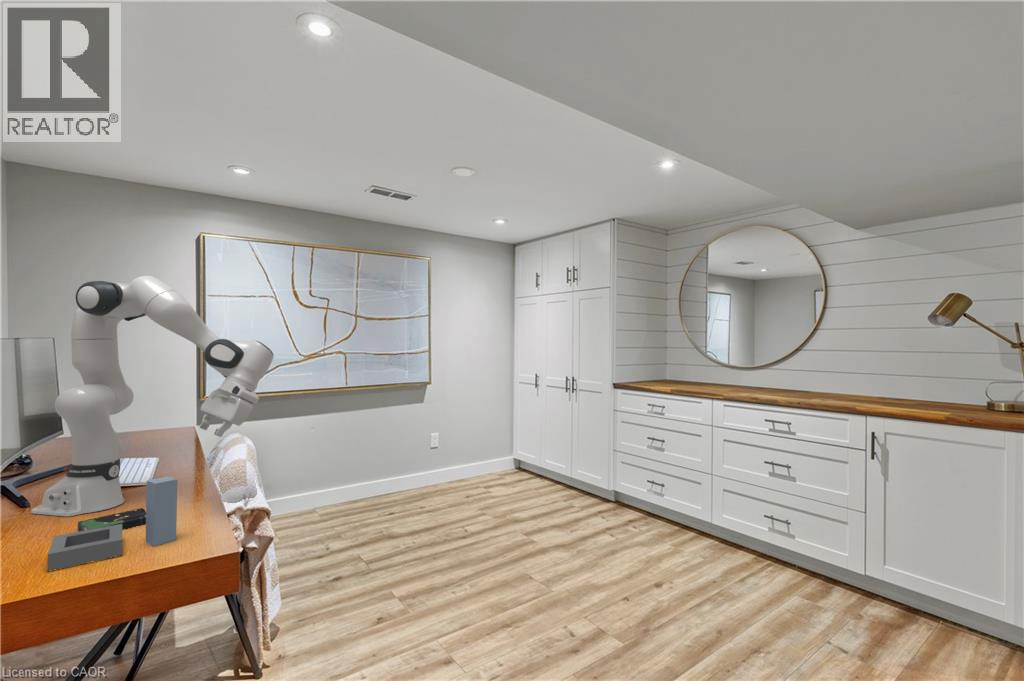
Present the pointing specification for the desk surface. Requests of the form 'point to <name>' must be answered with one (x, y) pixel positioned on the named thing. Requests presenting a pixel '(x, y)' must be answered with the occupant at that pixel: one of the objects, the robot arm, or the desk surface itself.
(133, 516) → the disk drive
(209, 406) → the robot arm
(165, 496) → the blue block
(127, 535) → the desk surface
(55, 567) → the well block
